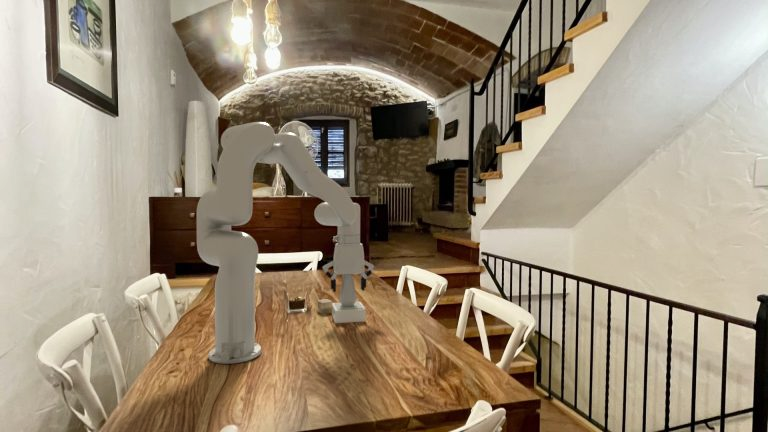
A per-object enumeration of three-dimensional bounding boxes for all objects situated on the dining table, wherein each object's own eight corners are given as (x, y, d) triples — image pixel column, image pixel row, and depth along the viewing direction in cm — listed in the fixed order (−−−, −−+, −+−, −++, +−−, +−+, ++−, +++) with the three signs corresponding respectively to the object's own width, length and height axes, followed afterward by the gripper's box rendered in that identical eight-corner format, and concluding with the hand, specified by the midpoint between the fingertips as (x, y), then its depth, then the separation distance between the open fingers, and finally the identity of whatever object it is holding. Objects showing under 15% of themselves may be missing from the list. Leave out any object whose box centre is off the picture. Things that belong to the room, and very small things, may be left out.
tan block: (332, 312, 144) (332, 301, 144) (322, 314, 142) (322, 302, 142) (327, 309, 147) (327, 299, 147) (317, 311, 145) (317, 300, 145)
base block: (365, 321, 134) (365, 308, 133) (335, 323, 131) (335, 310, 131) (360, 312, 143) (360, 300, 143) (331, 314, 141) (331, 302, 141)
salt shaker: (357, 303, 140) (358, 265, 139) (354, 308, 134) (355, 268, 133) (341, 302, 140) (341, 265, 140) (337, 307, 135) (337, 268, 134)
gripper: (323, 241, 131) (323, 294, 131) (376, 240, 135) (376, 291, 135) (321, 239, 138) (321, 289, 139) (371, 238, 142) (371, 287, 143)
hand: (348, 290), depth 137 cm, fingers open, 9 cm apart
